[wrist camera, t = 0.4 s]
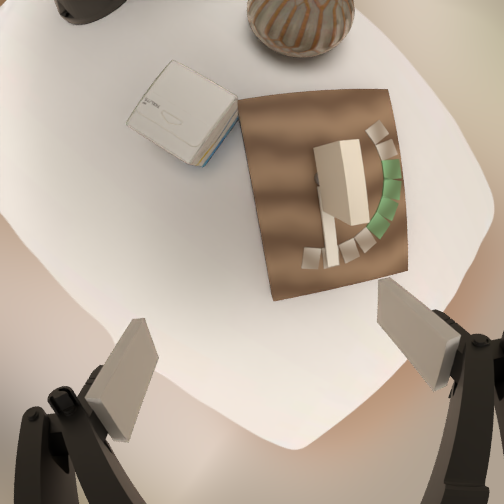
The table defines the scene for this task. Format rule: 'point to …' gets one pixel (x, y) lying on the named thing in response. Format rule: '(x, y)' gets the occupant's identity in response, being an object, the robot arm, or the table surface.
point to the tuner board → (305, 188)
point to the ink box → (185, 114)
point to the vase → (300, 24)
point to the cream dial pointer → (340, 190)
